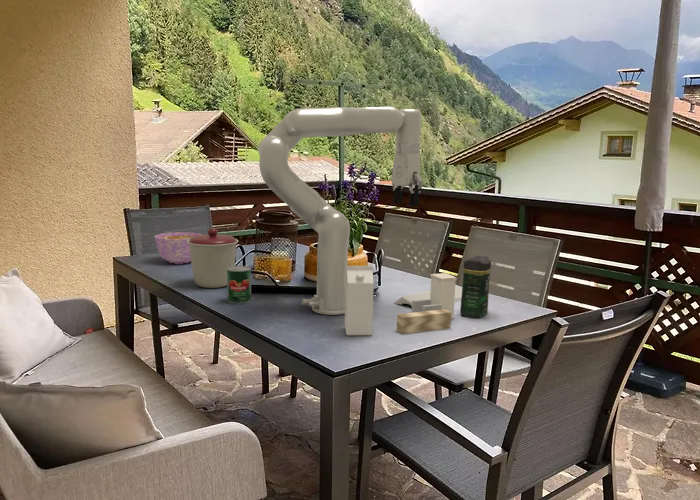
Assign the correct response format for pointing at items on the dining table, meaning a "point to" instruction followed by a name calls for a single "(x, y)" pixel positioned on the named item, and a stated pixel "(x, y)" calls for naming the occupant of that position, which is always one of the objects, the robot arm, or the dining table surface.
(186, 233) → the bowl of food
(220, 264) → the canister
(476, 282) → the coffee jar
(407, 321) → the birch rail
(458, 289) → the crown molding
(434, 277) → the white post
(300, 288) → the dining table surface
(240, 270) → the canned tomato
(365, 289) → the milk carton
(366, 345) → the dining table surface
